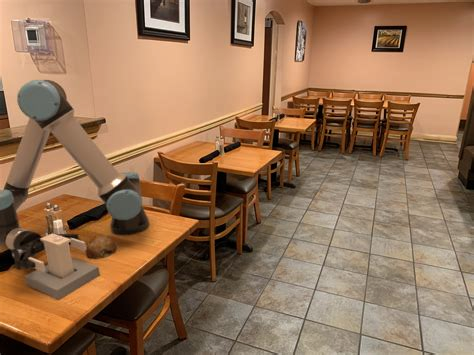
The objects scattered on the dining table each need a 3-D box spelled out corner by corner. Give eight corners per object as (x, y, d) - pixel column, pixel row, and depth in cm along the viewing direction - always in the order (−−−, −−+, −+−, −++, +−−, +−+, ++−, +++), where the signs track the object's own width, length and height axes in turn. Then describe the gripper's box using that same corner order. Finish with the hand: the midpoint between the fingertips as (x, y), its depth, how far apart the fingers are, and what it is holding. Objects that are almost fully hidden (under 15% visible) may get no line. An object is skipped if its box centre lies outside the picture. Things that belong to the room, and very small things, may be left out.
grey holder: (67, 263, 119) (66, 255, 118) (99, 275, 111) (98, 266, 110) (26, 284, 108) (24, 276, 107) (58, 299, 100) (57, 290, 99)
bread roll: (96, 270, 121) (99, 253, 118) (77, 252, 125) (80, 235, 121) (119, 257, 129) (123, 241, 126) (101, 240, 133) (104, 224, 129)
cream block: (60, 273, 113) (52, 231, 109) (78, 280, 109) (70, 236, 105) (48, 279, 110) (39, 236, 106) (66, 287, 106) (57, 242, 101)
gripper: (61, 236, 127) (101, 249, 117) (-14, 270, 107) (26, 289, 96) (57, 217, 125) (97, 228, 114) (-20, 247, 104) (20, 264, 94)
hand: (65, 256), depth 105 cm, fingers open, 13 cm apart
